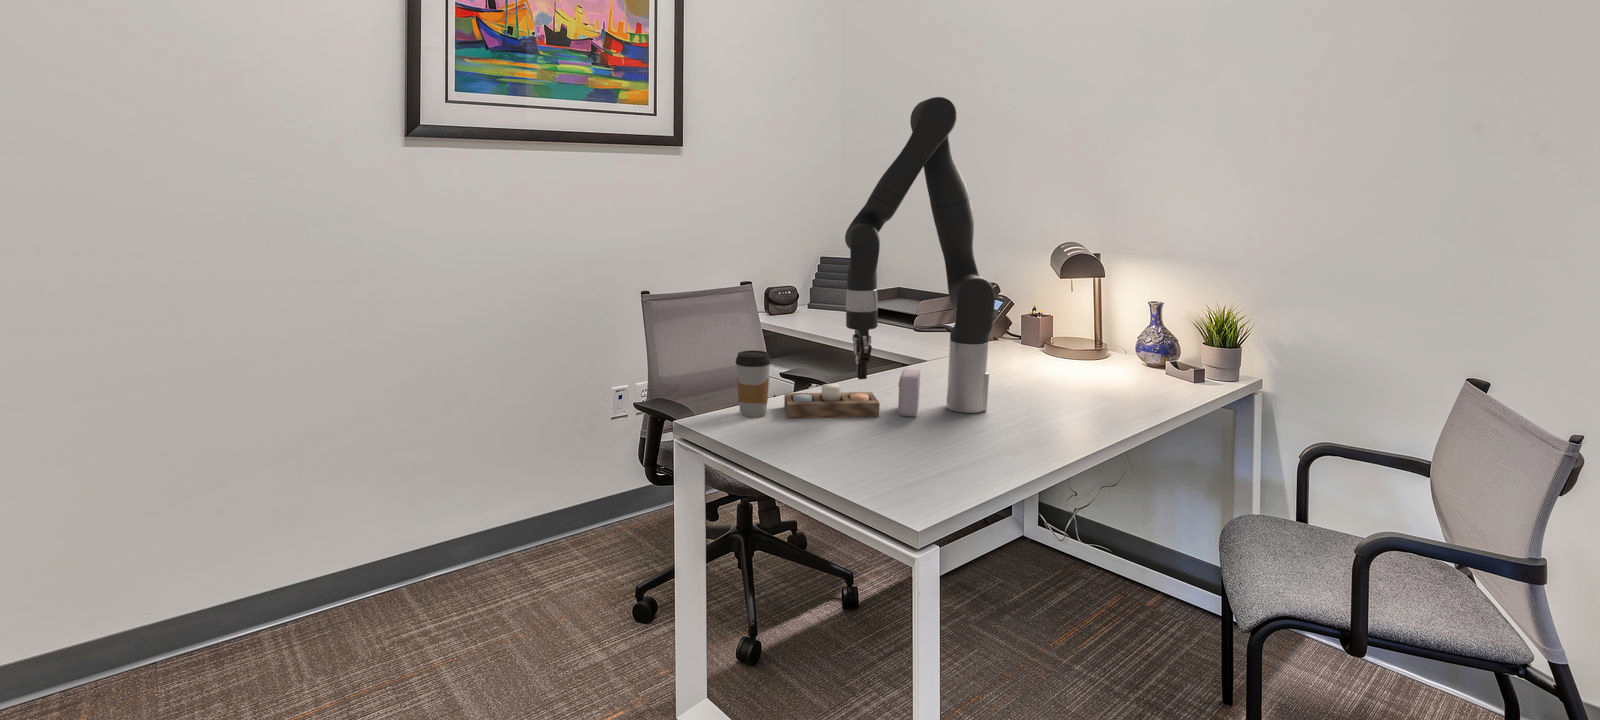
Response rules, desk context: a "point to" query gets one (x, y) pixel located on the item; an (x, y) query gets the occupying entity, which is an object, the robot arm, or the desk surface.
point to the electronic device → (909, 392)
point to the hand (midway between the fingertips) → (861, 378)
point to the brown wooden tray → (831, 407)
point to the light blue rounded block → (802, 398)
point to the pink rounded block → (859, 397)
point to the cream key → (831, 392)
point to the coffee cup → (753, 382)
